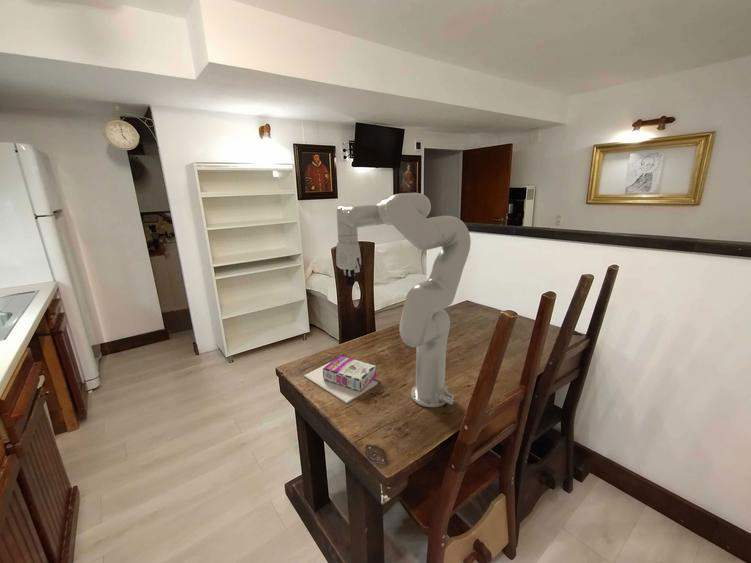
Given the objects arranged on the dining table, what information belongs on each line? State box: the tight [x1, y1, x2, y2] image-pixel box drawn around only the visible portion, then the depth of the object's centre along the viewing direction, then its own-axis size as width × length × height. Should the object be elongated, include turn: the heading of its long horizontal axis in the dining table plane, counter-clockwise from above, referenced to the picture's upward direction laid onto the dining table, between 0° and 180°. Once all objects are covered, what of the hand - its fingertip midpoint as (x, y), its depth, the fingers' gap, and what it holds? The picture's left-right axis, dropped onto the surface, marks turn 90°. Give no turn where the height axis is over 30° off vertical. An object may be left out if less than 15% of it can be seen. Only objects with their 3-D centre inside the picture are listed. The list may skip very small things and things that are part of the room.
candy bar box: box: [323, 355, 377, 392], centre depth 119 cm, size 11×5×16 cm
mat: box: [303, 361, 379, 404], centre depth 120 cm, size 24×15×1 cm, turn 47°
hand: (350, 284), depth 129 cm, fingers closed
